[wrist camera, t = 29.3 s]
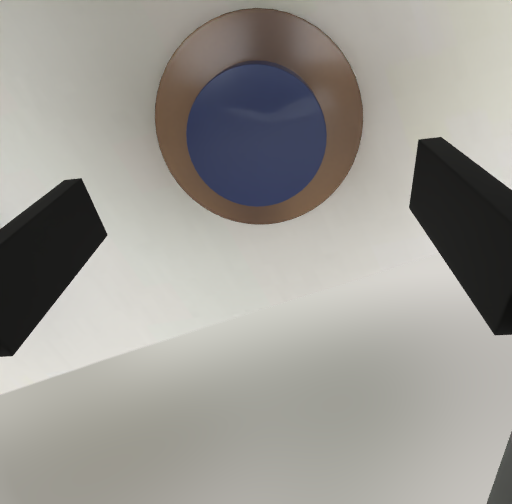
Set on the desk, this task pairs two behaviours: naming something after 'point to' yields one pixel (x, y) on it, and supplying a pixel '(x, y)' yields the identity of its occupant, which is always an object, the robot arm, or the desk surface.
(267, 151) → the lid
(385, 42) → the desk surface
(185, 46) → the coaster
